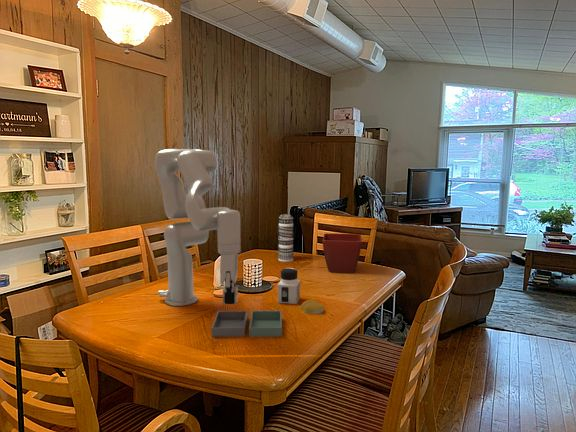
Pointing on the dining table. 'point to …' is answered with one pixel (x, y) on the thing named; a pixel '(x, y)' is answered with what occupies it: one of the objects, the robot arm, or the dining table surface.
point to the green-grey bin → (265, 324)
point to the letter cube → (234, 293)
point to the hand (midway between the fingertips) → (230, 300)
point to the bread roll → (312, 307)
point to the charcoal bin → (230, 324)
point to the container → (289, 287)
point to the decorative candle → (285, 238)
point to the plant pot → (342, 251)
